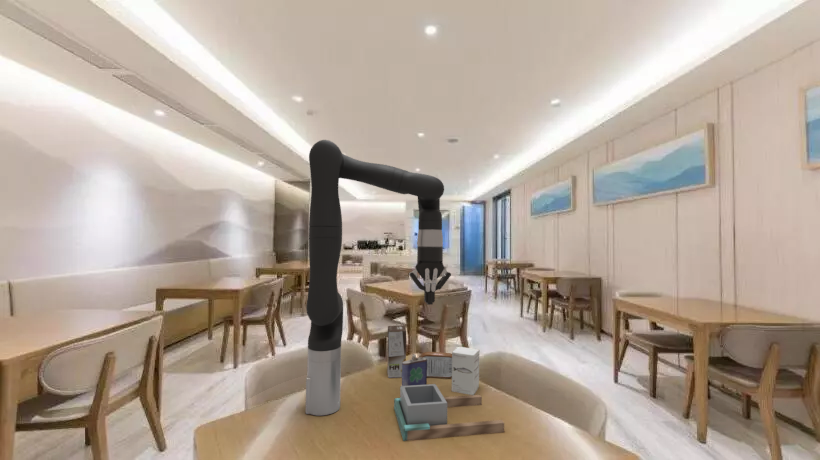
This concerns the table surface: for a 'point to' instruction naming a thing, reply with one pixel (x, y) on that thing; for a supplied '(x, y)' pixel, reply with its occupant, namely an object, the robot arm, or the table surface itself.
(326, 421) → the table surface
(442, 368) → the tin
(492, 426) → the bar
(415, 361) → the flask
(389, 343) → the coffee box
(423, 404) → the grey storage bin
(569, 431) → the table surface
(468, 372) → the supplement box
